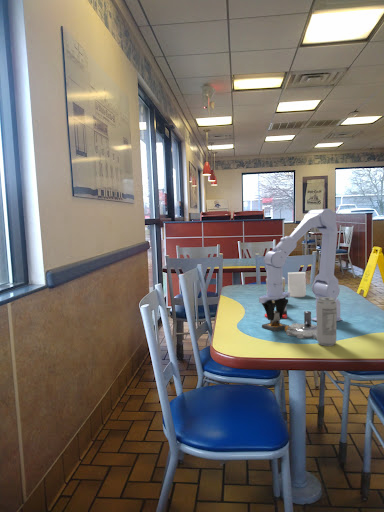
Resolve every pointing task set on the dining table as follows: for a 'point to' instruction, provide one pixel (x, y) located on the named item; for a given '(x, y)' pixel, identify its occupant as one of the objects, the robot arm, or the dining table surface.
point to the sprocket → (303, 328)
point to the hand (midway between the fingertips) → (275, 318)
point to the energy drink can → (326, 321)
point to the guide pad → (274, 327)
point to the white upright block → (297, 284)
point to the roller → (275, 319)
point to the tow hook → (284, 309)
